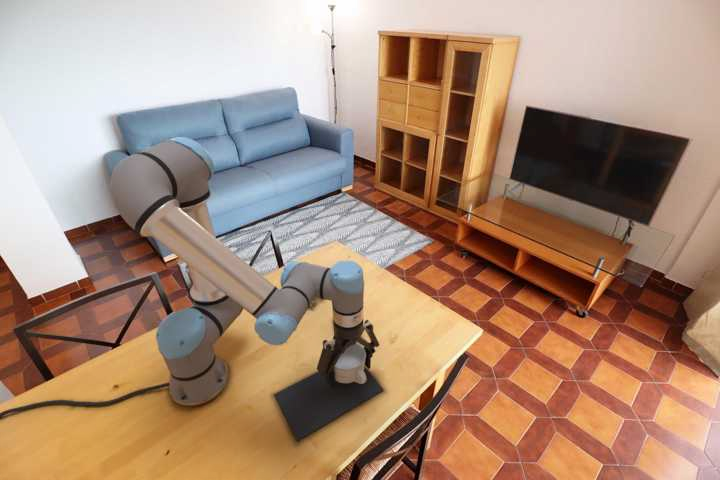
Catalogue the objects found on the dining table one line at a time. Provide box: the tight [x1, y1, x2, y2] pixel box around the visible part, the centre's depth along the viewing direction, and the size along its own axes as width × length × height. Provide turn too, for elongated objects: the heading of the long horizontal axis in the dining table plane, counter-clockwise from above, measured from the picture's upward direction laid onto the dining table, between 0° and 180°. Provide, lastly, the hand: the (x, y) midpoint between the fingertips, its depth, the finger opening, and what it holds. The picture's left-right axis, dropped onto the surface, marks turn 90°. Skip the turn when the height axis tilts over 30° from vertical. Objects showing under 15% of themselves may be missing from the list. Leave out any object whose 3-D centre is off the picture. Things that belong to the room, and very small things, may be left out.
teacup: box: [333, 342, 366, 384], centre depth 100 cm, size 14×11×8 cm
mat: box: [273, 366, 384, 442], centre depth 101 cm, size 26×15×1 cm, turn 123°
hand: (349, 374), depth 102 cm, fingers closed on teacup, 11 cm apart
